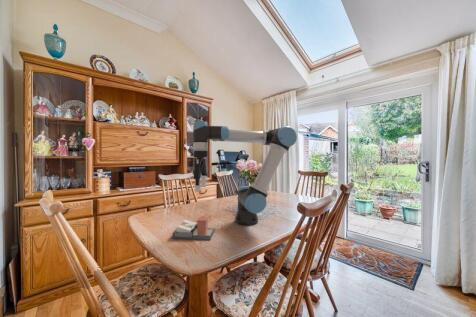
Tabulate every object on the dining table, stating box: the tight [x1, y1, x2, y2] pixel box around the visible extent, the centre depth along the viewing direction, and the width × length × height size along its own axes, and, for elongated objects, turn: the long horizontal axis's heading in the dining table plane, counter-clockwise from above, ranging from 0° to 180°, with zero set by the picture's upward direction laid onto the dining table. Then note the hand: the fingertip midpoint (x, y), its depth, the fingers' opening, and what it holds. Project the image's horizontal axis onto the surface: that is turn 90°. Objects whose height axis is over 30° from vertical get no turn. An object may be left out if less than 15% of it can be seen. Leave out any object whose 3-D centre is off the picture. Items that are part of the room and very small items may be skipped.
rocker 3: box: [180, 223, 194, 230], centre depth 109 cm, size 7×3×3 cm, turn 86°
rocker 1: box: [175, 224, 192, 233], centre depth 105 cm, size 7×3×3 cm, turn 86°
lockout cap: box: [196, 216, 209, 234], centre depth 109 cm, size 5×5×7 cm
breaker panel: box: [171, 223, 216, 241], centre depth 109 cm, size 20×13×3 cm, turn 86°
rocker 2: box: [181, 219, 197, 229], centre depth 113 cm, size 7×3×3 cm, turn 86°
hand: (200, 189), depth 110 cm, fingers open, 13 cm apart
